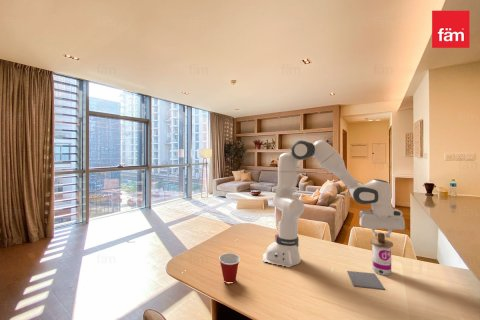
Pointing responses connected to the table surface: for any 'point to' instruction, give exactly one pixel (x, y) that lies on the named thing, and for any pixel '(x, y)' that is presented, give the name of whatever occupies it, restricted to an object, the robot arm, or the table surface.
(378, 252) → the supplement can
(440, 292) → the table surface
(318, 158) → the robot arm
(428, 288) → the table surface
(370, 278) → the mat
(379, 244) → the lid
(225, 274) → the plastic cup
